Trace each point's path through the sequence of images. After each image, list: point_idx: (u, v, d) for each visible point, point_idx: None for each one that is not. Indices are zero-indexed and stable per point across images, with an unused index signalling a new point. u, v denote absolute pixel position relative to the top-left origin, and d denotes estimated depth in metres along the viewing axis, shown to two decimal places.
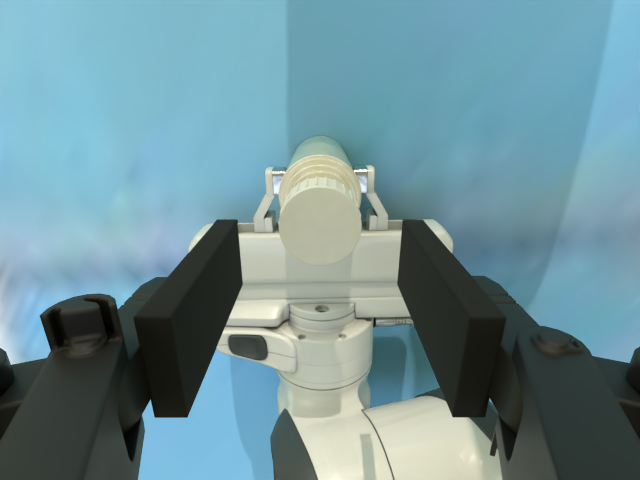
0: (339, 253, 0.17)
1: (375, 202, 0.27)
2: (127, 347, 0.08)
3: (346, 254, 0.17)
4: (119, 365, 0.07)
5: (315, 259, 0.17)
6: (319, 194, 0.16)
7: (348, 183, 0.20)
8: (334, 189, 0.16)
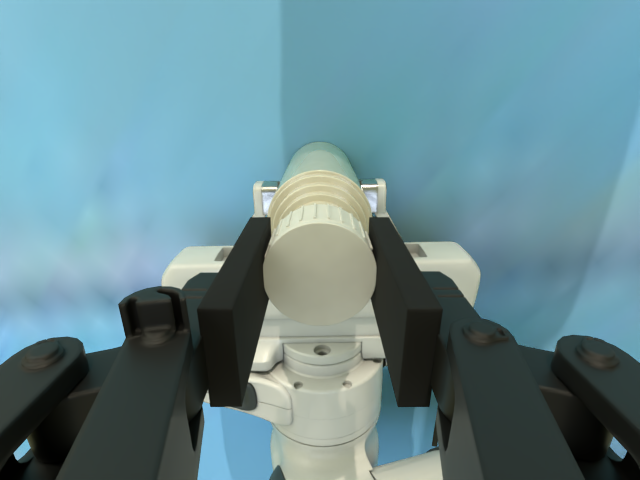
0: (346, 310, 0.13)
1: None
2: (192, 339, 0.08)
3: (355, 311, 0.13)
4: (187, 357, 0.07)
5: (313, 318, 0.13)
6: (318, 233, 0.12)
7: (356, 208, 0.16)
8: (339, 225, 0.11)
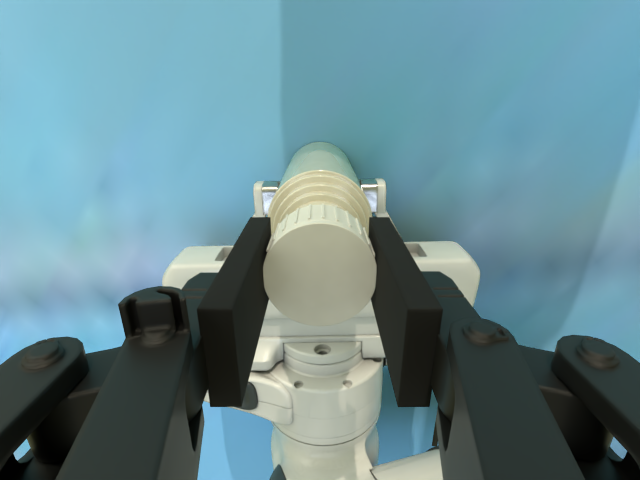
0: (352, 245, 0.12)
1: None
2: (192, 339, 0.08)
3: (352, 235, 0.12)
4: (187, 357, 0.07)
5: (368, 274, 0.12)
6: (274, 287, 0.12)
7: (356, 207, 0.16)
8: (263, 270, 0.12)
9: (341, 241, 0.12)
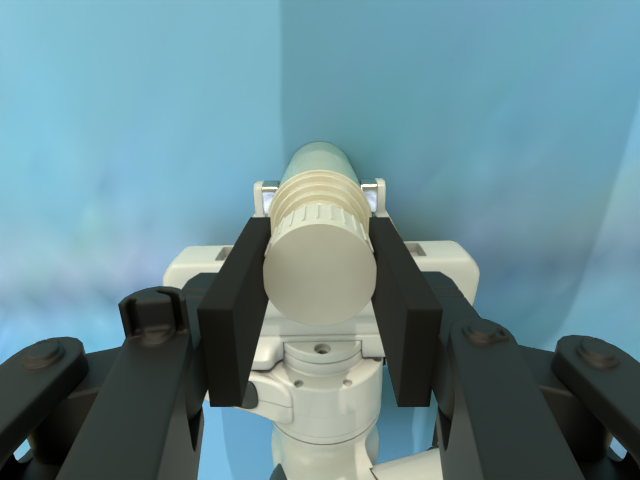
0: (277, 256, 0.12)
1: None
2: (192, 339, 0.08)
3: (267, 259, 0.12)
4: (187, 357, 0.07)
5: (305, 234, 0.12)
6: (339, 314, 0.13)
7: (356, 207, 0.16)
8: (325, 325, 0.13)
9: (276, 267, 0.12)
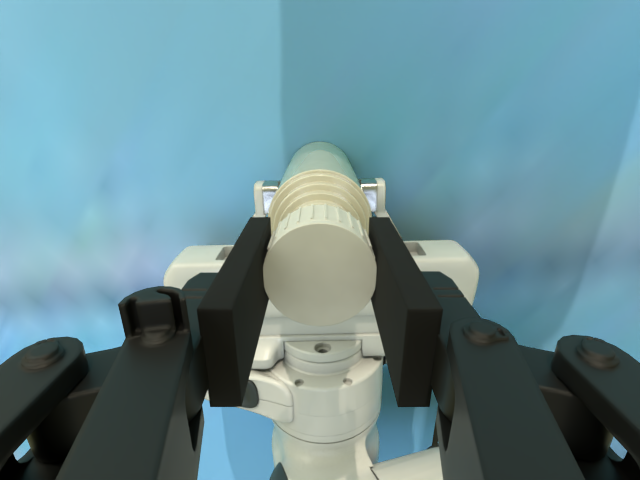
0: (306, 316, 0.13)
1: None
2: (192, 339, 0.08)
3: (311, 323, 0.13)
4: (187, 357, 0.07)
5: (279, 298, 0.12)
6: (357, 250, 0.12)
7: (356, 206, 0.16)
8: (374, 260, 0.12)
9: (317, 315, 0.13)
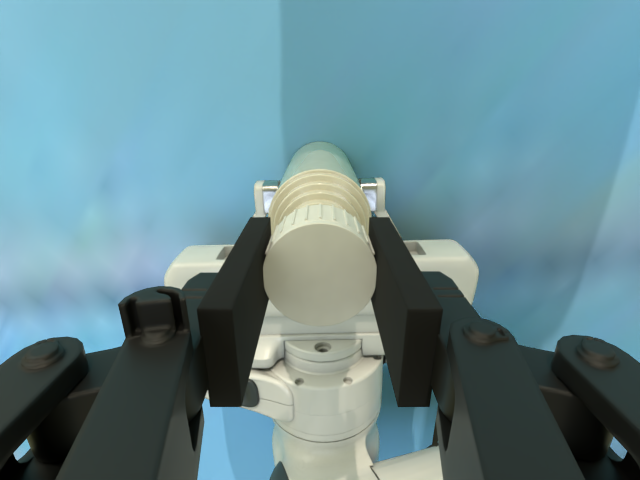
0: (366, 281, 0.12)
1: None
2: (192, 339, 0.08)
3: (374, 275, 0.12)
4: (187, 357, 0.07)
5: (351, 309, 0.12)
6: (282, 250, 0.12)
7: (355, 206, 0.16)
8: (289, 231, 0.12)
9: (363, 271, 0.12)
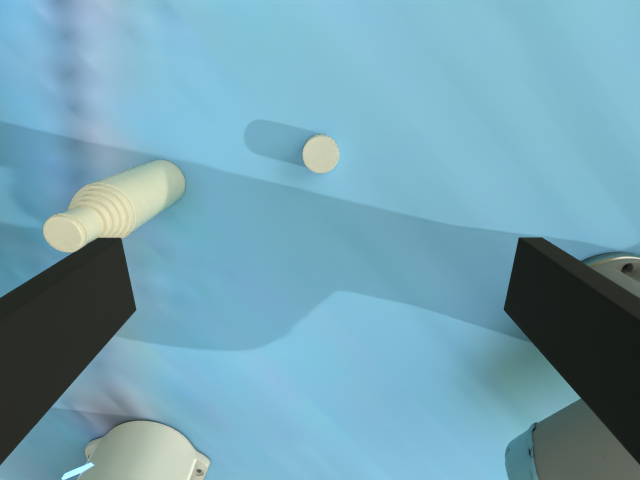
0: (335, 156, 0.38)
1: None
2: None
3: (337, 154, 0.38)
4: None
5: (330, 166, 0.39)
6: (308, 145, 0.38)
7: None
8: (311, 139, 0.38)
9: (334, 152, 0.38)
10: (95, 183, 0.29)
